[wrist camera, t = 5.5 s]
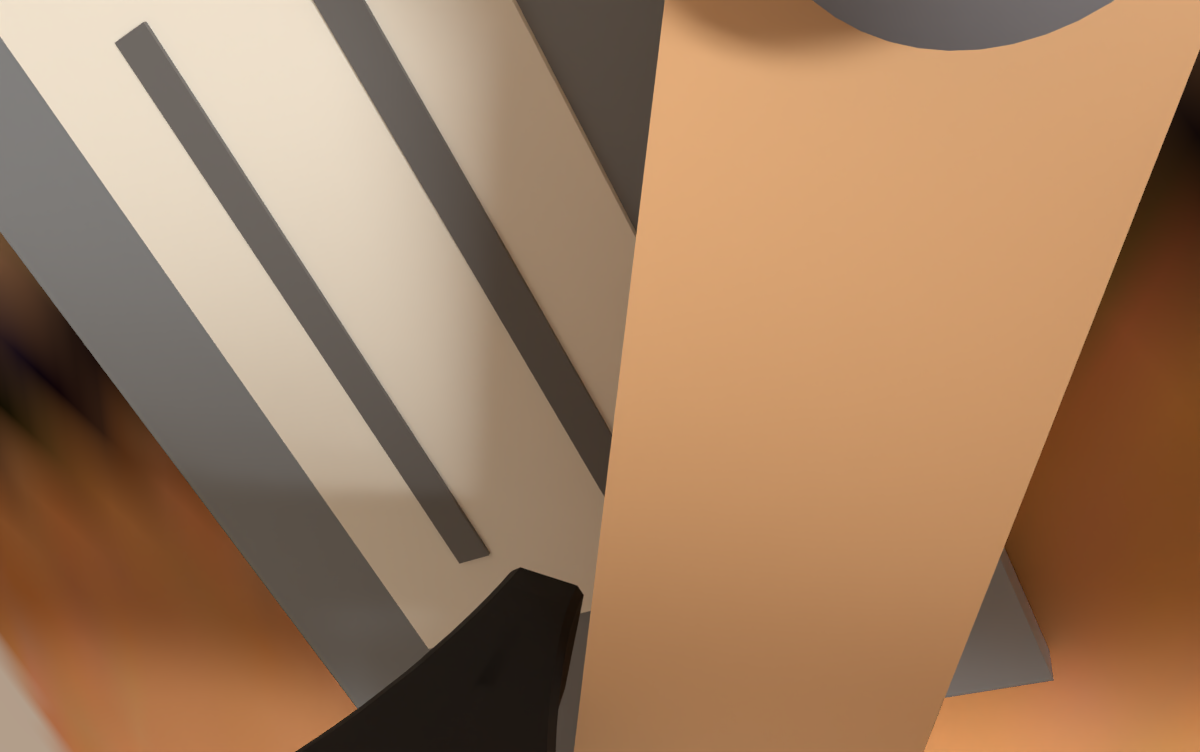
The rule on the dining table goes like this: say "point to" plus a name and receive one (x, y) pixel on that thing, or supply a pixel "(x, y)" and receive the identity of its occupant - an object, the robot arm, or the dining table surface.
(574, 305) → the label plate
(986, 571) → the tan wooden bar
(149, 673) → the dining table surface
